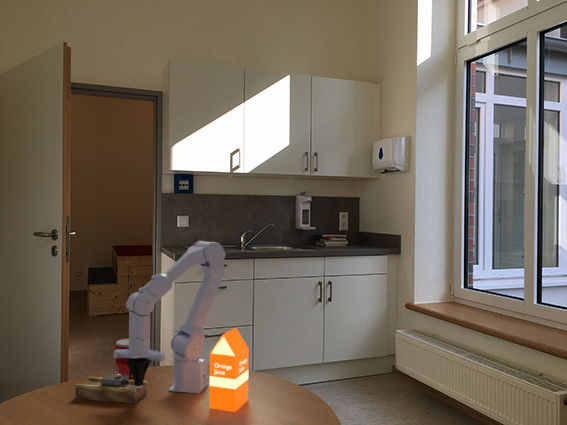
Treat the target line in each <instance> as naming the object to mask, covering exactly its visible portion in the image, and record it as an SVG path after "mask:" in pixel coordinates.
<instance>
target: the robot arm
mask: <svg viewBox="0 0 567 425" xmlns="http://www.w3.org/2000/svg"><path fill="white" fill-rule="evenodd" d="M226 255H227V254H226V252H225V249H224V247H223V246H222V245H221V244H220V243H219V242H217V241H212V242H211V241H204V240H197V241H196V242H195V243H194V244H193V245H191V246H190V247H188V248H187V250H186V251H185V253H184V254H183V255H182V256H181V257H180V258H178V259H177V261H175V263H173V265H172V266H171V267H170V268H168V270H166V272H164V273H158V274H153V275H152V276H151V277H150V278H151V279H150V281H148V282H147V283H146V284H145V285H144V286H142V287H140V288H138V292H137V291H136V292H134V293H132V294H131V295H129V297H128V298H127V300H126V302H125V307H126V309H127V311H128V313H129V315H128V316H129V317H128V319H129V320H128V339H129V349H124V350H120V349H117V350H116V349H115V350H114V351H113V358H114V359H116V358H129V361H128V362H127V365H128V367H129V368H130V370H131V373H132V375H133V378H134V379H133V380H134V382H135V386H141V385H142V384H143V381H145V380H144V379H145V377H146V372H147V370H148V368H149V365H150V364H151V362H152V361H158V362H164V361H165V360H166V352H161V351H157V350H152V349H151V313H152V312H153V311H154V308H155V304H156V303H158V302H159V300H161V299H162V298H163V297H164V296H165V295H166V294H167V293H168V292H169V291H170V290H172V289H173V282H174V281H175V280H177V279H178V278H179V277H181V276H182V275H184V273H186V272H187V271H188V270H189V269H190V268H191V267H193V266H197V265H199V266H200V267H201V269H202V270H203V273H204V276H203V278H202V281H201V283H200V286H199V288H198V291H197V294H196V296H195V299H194V300H193V303H192V306H191V309H190V310H189V313H188V316H187V318H186V321H185V323H183V325H181V326H179V329H178V331H177V332H176V334H174V335H173V336H172V339H171V342H170V348H171V350H172V351H173V352H174V359H173V360H174V363H173V364H174V365H173V369H174V371H173V377H174V378H173V380H174V381H173V385H172V386H171V387H169V389H168V391H169V392H178V393H188V394H189V393H190V394H201V392H202V391H203V390H204V389H205V388H206V387H207V386H208V385H209V383H208V378H209V377H208V370H209V367H208V360H207V359H205V358H202V357H201V356H202V354H203V351H204V342H205V339H206V338H205V337H206V336H205V332H204V327H205V325H206V322H207V320H208V316H209V314H210V311H211V308H212V306H213V303H214V301H215V299H216V295H217V293H218V291H219V288H220V285H221V283H222V280H223V278H224V274H225V263H224V262H225V261H224V260H225V258H226Z"/></svg>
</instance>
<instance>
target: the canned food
mask: <svg viewBox="0 0 567 425" xmlns="http://www.w3.org/2000/svg"><path fill="white" fill-rule="evenodd" d="M117 349H120V350H124V349H129V338H123V339H118V340H117V341H116V342H115V350H117ZM128 361H129V358H115V374H121V375H129V379H130V380H134V378H133V375H132V373H131V370H130V368H129V367H128V365H127V362H128Z"/></svg>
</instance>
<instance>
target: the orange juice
mask: <svg viewBox="0 0 567 425" xmlns="http://www.w3.org/2000/svg"><path fill="white" fill-rule="evenodd" d="M249 350H250V349H249V347H248V345H247V344H246V341H245V340H244V338H243V337H242V336H241V333H240V332H239V330H238V329H237V327H235V328H232V329H231V330H229V331H227V332H225V333H223V334H222V335H221V336H220V338H219V339H218V341H217V342H216V344H215V346H214V347H213V349H212V350H211V351H210V353H209V409H214V410H219V411H220V410H221V411H226V412H234V413H235V412H236V411H238V410H239V409H240V408H242V406H244V405H245V404H246V403H247V401H249Z"/></svg>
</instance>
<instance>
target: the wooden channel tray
mask: <svg viewBox="0 0 567 425" xmlns="http://www.w3.org/2000/svg"><path fill="white" fill-rule="evenodd" d="M102 378H103V377H99V376H88V379H87V380H86V381H84V382H83V383H76V384H75V387H74V388H75V389H74V392H75V393H74V396H75V398H74V399H79V400H89V401H90V400H91V401H98V402H110V401H111V402H110V403H121V402H125V403H124V404H132V403H133V405H135V404H136V403H137V401H138V402H139V401H140V400H142V399H143V398H144V397H145V396H147V395H148V390H147V389H148V381H147V380H144V381H143V384H142V385H141V386H135V382H134V379H130V380H129V384H128V385H127V386H125V387H124V388H121V387H109V386H101V379H102ZM146 394H147V395H146ZM141 398H142V399H141Z"/></svg>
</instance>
